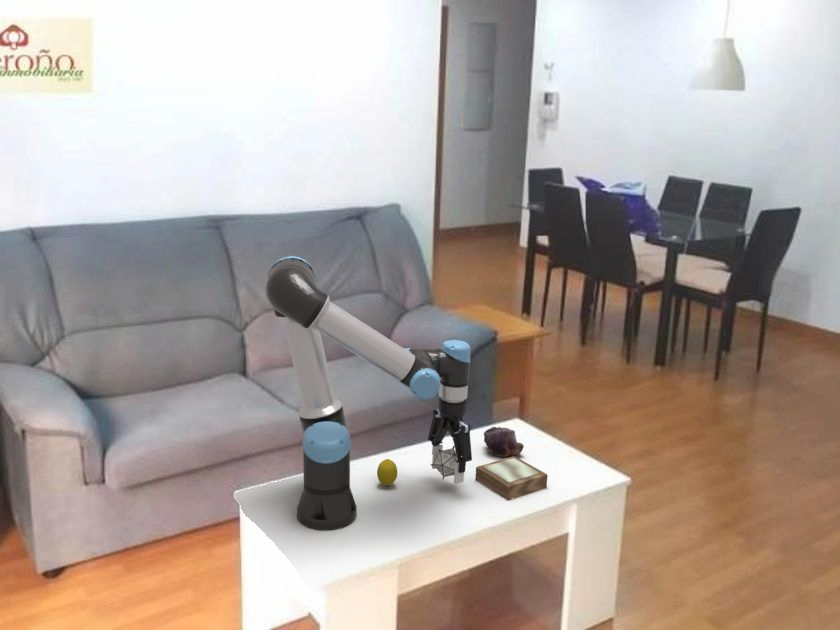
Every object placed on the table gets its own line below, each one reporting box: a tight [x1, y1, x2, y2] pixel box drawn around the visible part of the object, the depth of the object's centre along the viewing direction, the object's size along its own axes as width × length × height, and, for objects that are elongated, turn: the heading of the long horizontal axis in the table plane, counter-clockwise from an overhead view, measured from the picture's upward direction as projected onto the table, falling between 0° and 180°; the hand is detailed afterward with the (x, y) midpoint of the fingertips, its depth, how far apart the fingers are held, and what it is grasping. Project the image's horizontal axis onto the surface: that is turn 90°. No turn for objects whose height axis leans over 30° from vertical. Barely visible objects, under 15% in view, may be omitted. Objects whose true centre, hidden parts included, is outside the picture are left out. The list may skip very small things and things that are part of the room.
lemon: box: [376, 458, 398, 487], centre depth 236 cm, size 6×6×8 cm
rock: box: [483, 426, 525, 458], centre depth 258 cm, size 12×9×10 cm
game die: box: [430, 445, 458, 480], centre depth 235 cm, size 9×8×10 cm
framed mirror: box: [475, 455, 548, 501], centre depth 240 cm, size 14×14×4 cm
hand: (447, 474), depth 236 cm, fingers closed on game die, 9 cm apart
